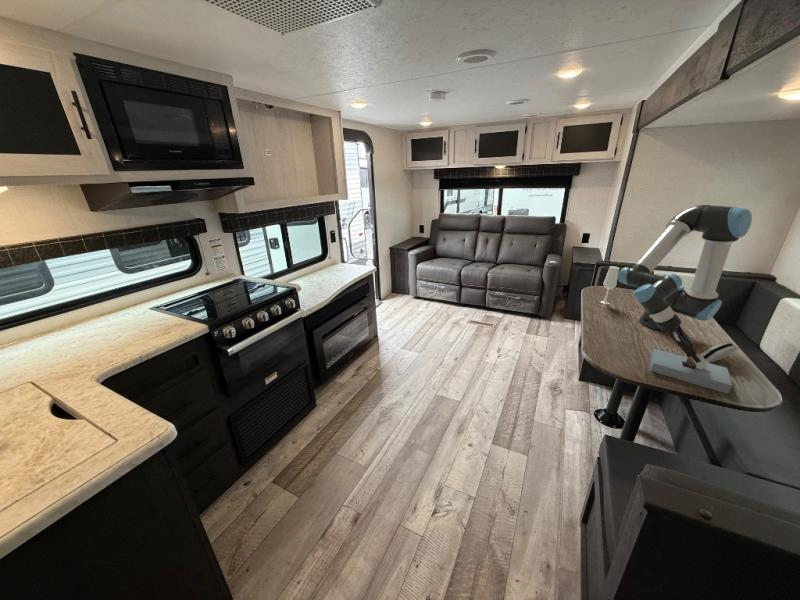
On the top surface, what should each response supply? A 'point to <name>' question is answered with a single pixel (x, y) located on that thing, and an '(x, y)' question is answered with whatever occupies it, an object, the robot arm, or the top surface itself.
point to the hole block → (691, 371)
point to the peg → (697, 348)
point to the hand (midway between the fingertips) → (703, 365)
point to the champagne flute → (610, 281)
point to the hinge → (719, 351)
